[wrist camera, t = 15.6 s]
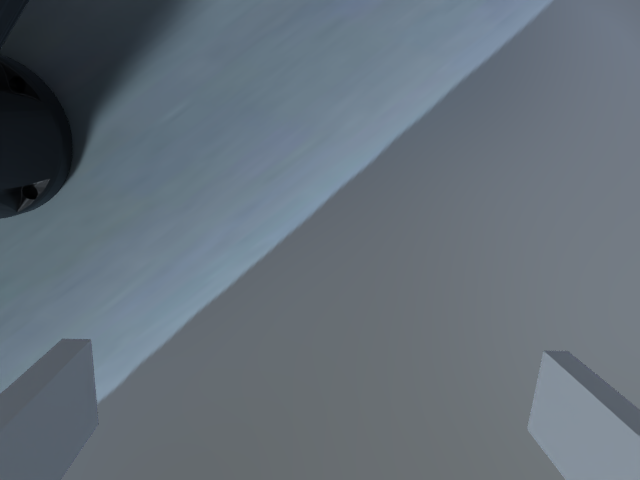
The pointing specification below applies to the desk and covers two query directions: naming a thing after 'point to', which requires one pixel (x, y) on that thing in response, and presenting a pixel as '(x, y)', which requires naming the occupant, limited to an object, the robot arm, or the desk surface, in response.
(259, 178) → the desk surface
